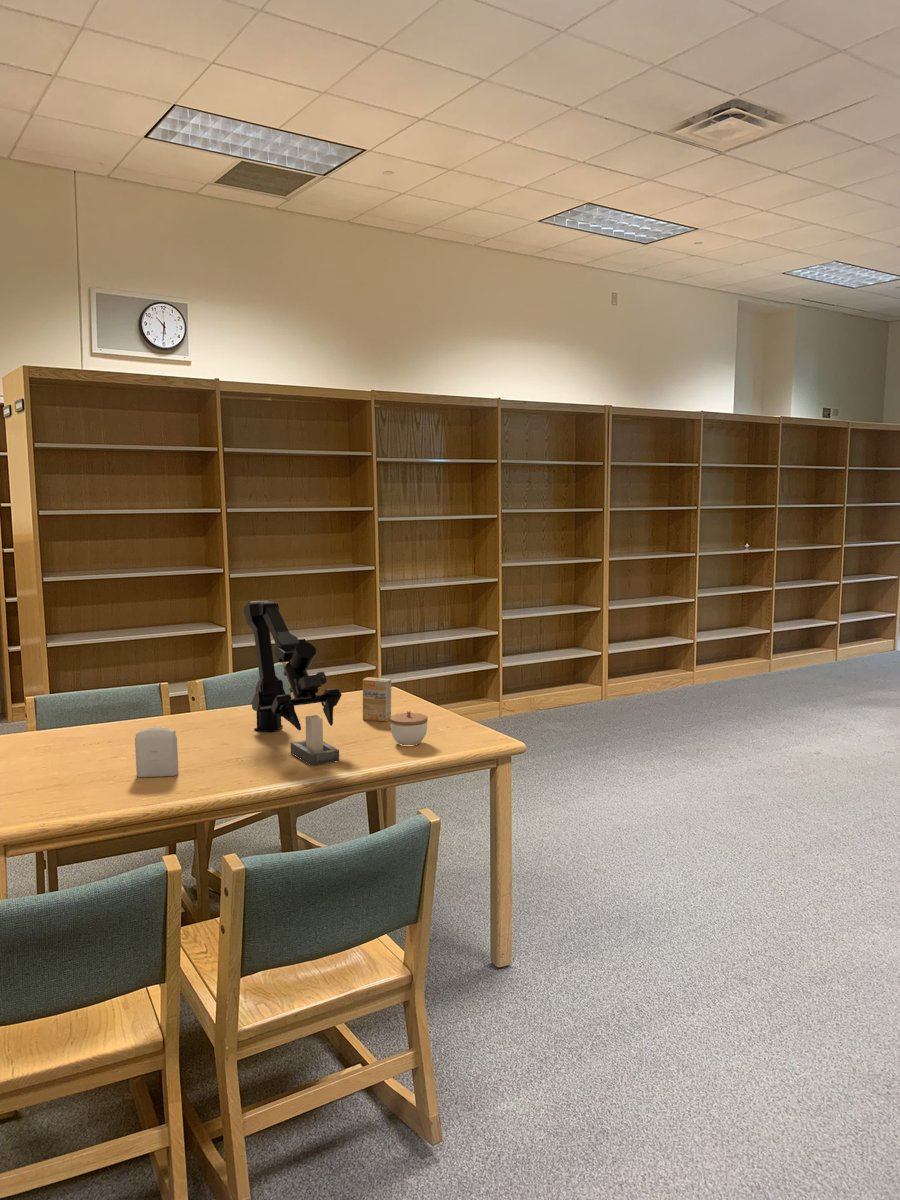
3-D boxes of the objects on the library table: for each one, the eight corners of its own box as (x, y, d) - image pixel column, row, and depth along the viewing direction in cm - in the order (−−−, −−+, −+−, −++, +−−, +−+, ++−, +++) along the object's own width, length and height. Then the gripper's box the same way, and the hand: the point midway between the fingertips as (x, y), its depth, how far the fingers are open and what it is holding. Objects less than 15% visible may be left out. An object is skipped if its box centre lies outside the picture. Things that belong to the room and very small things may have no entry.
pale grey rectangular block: (306, 752, 235) (305, 716, 234) (317, 750, 237) (316, 715, 236) (312, 756, 232) (311, 719, 231) (323, 754, 234) (322, 718, 233)
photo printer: (134, 778, 216) (132, 730, 215) (138, 773, 221) (136, 725, 219) (176, 777, 217) (174, 729, 216) (180, 772, 222) (178, 724, 220)
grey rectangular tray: (290, 752, 238) (290, 742, 238) (317, 748, 243) (317, 738, 242) (311, 766, 227) (311, 754, 226) (339, 761, 231) (339, 750, 231)
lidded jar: (413, 736, 255) (413, 705, 254) (434, 744, 247) (434, 712, 246) (383, 742, 249) (382, 710, 248) (403, 751, 240) (403, 718, 239)
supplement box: (362, 720, 274) (361, 679, 273) (367, 716, 279) (367, 676, 277) (386, 722, 272) (386, 681, 270) (391, 718, 276) (391, 678, 275)
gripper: (274, 666, 230) (291, 715, 222) (338, 659, 240) (356, 706, 232) (264, 689, 238) (280, 738, 230) (326, 682, 248) (344, 728, 240)
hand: (316, 727), depth 233 cm, fingers open, 9 cm apart
